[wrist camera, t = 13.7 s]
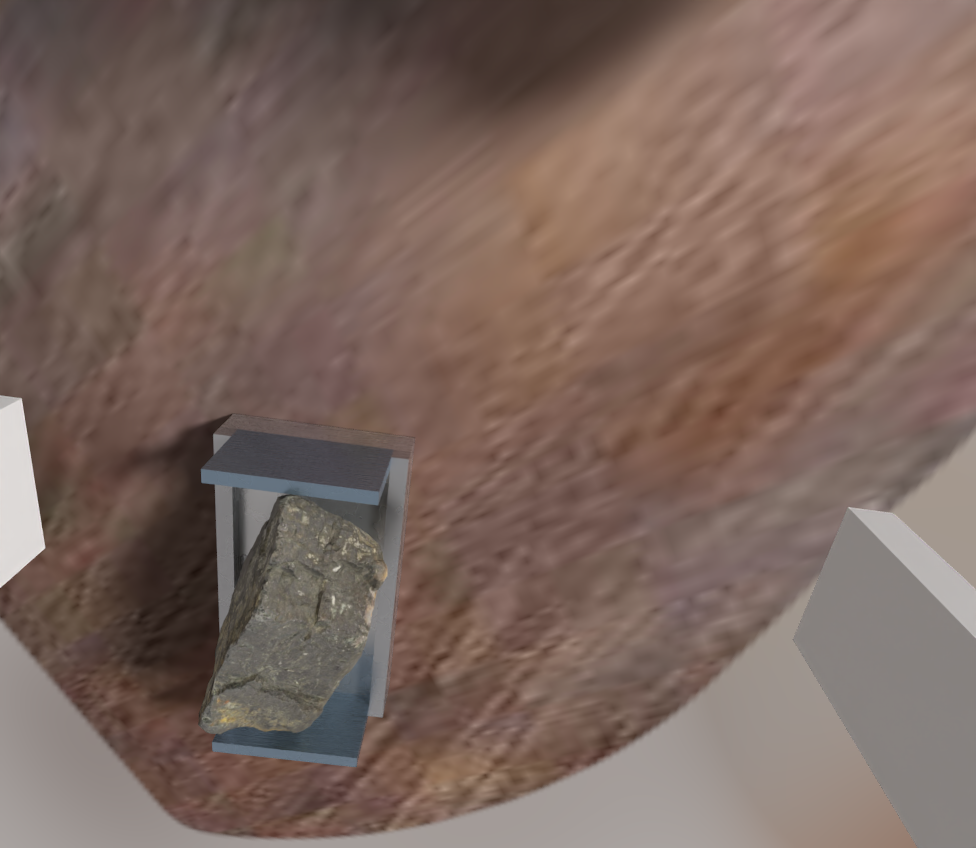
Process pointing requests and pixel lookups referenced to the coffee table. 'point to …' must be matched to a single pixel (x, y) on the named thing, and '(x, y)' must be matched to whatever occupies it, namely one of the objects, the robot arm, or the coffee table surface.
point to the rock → (293, 620)
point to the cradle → (341, 491)
